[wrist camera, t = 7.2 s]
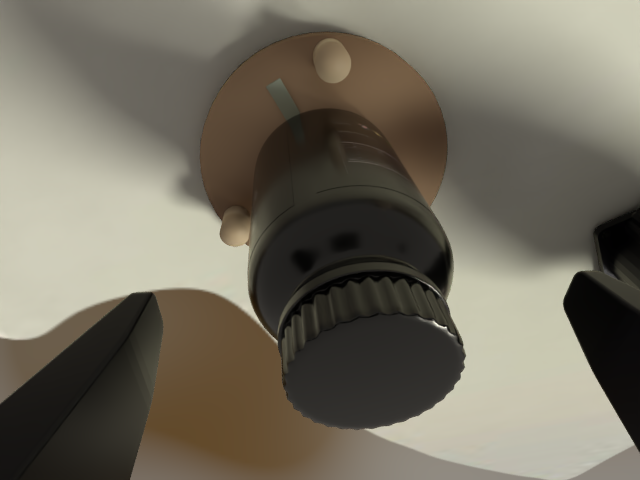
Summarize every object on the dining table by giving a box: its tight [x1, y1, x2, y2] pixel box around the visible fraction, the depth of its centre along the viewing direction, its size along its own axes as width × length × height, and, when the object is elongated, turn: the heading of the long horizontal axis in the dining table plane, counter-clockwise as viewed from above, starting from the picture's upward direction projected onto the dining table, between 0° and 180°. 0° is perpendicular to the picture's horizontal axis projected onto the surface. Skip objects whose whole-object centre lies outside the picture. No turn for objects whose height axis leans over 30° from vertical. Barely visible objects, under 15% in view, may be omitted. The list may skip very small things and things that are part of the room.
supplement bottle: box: [248, 108, 466, 430], centre depth 16 cm, size 7×7×12 cm
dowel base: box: [200, 32, 447, 247], centre depth 20 cm, size 12×12×3 cm
